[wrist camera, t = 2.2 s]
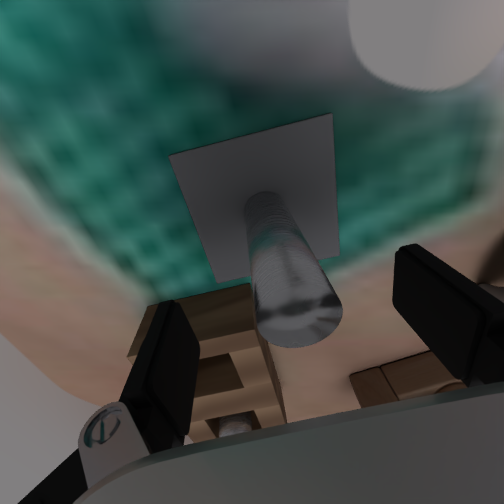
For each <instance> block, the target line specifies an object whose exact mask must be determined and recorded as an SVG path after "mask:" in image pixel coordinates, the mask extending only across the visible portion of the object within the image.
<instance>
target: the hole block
mask: <svg viewBox="0 0 504 504" xmlns="http://www.w3.org/2000/svg"><path fill="white" fill-rule="evenodd" d="M174 301H175V302H179V303H180V305H181V307H182V309H183V311H184V313H185V315H186V317H187V319H188V321H189V323H190V325H191V327H192V329H193V331H194V333H195V336H196V338H197V340H198V342H199V344H200V358H199V366H198V373H197V380H196V387H195V395H194V402H193V409H192V416H191V424H190V430H189V433H188V436H189V437H190V438H191V439H192V441H193V442H194V443H197V442H201V441H206V440H210V439H215V438H219V420H220V417H221V416H226V415H231V414H236V413H241V412H246V411H251V421H252V431H253V430H258V429H263V428H267V427H272V426H277V425H282V424H287V419H286V413H285V407H284V402H283V396H282V390H281V386H280V383H279V379H278V376H277V373H276V369H275V366H274V363H273V359H272V356H271V353H270V349H269V346H268V342H267V340H266V339H264V338H263V337H262V335H261V334H260V332H259V330H258V328H257V322H256V313H255V305H254V296H253V292H252V289H251V285H250V283H248V284H243V285H239V286H235V287H230V288H226V289H221V290H217V291H213V292H208V293H204V294H200V295H195V296H191V297H187V298H182V299H178V300H174ZM157 307H158V304H156V305H152V306H148V307H147V310H146V312H145V314H144V317H143V319H142V322H141V324H140V326H139V329H138V331H137V334H136V336H135V338H134V341H133V343H132V346H131V348H130V350H129V353H128V355H127V358H128V360H129V361H130V362H131V364H132V365H133V364H134V362H135V359H136V357H137V354H138V352H139V349H140V347H141V344H142V342H143V340H144V339H145V337H146V334H147V332H148V329H149V327H150V324H151V322H152V319H153V317H154V314H155V312H156V309H157Z"/></svg>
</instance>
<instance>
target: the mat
mask: <svg viewBox="0 0 504 504" xmlns="http://www.w3.org/2000/svg"><path fill="white" fill-rule="evenodd" d="M168 157H169V160H170V163H171V165H172V168H173V170H174V173H175V175H176V178H177V181H178V183H179V186H180V188H181V191H182V194H183V196H184V199H185V201H186V204H187V207H188V209H189V212H190V214H191V217H192V219H193V222H194V225H195V227H196V230H197V232H198V235H199V238H200V240H201V243H202V245H203V248H204V251H205V253H206V256H207V258H208V261H209V263H210V266H211V269H212V271H213V274H214V276H215V279H216V282H217V283H221V282H226V281H230V280H234V279H239V278H243V277H247V276H251V271H250V262H249V254H248V245H247V237H246V228H245V220H244V207H245V205H246V203H247V201H248V200H249V199H250V197H252V196H253V195H254V194H256V193H259V192H262V191H271V192H274V193H276V194H278V195H280V196H281V197H282V198H283V200H284V201H285V203H286V205H287V207H288V209H289V210H290V212H291V214H292V216H293V217H294V219H295V221H296V223H297V225H298V226H299V228H300V230H301V232H302V234H303V235H304V237H305V239H306V241H307V242H308V244H309V246H310V248H311V250H312V251H313V253H314V255H315V257H316V259H317V260H321V259H326V258H330V257H334V256H339V255H340V251H339V231H338V212H337V192H336V173H335V154H334V134H333V115H332V113H329V114H325V115H321V116H317V117H313V118H310V119H306V120H302V121H298V122H294V123H291V124H287V125H283V126H279V127H275V128H271V129H268V130H264V131H260V132H256V133H252V134H249V135H245V136H241V137H237V138H233V139H230V140H226V141H222V142H218V143H214V144H210V145H207V146H203V147H199V148H195V149H191V150H188V151H184V152H180V153H176V154H172V155H169V156H168Z"/></svg>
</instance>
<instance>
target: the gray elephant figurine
mask: <svg viewBox="0 0 504 504" xmlns="http://www.w3.org/2000/svg"><path fill="white" fill-rule="evenodd" d="M478 286H480V287H481V288H483V289H484V290H486V291H487V292H489V293H490V294H491V295H493V296H494V297H496V298H497V299H499V300H500V301H502V302H503V303H504V287H497V286H493V285H490V284H479V285H478Z"/></svg>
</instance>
